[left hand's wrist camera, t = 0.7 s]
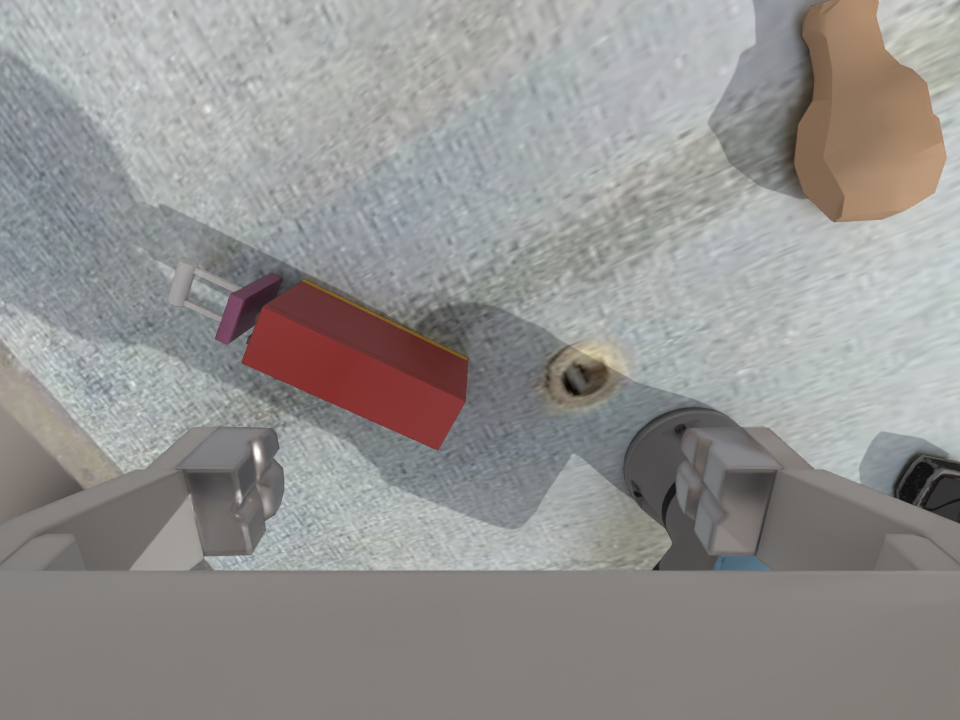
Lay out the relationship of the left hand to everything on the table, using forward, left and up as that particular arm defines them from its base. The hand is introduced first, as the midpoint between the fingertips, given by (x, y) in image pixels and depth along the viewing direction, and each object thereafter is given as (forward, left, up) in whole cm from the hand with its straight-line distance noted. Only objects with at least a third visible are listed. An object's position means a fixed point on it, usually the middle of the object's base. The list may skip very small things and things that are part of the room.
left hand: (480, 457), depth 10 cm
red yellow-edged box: (+12, -12, -45) cm, 48 cm away
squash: (-7, +34, -45) cm, 57 cm away
